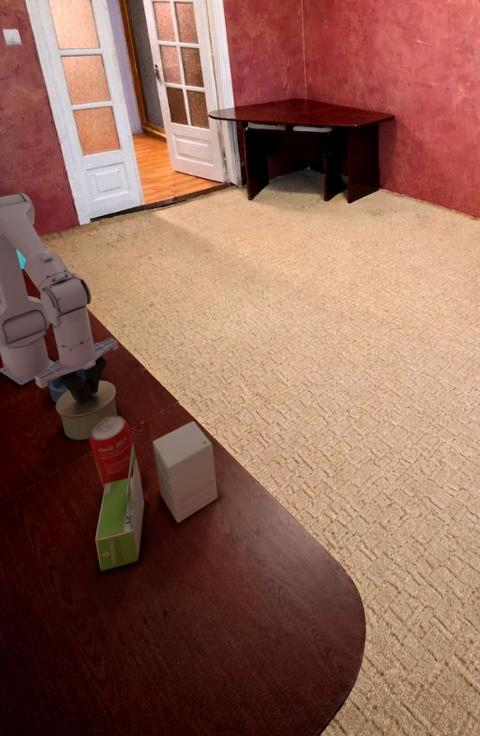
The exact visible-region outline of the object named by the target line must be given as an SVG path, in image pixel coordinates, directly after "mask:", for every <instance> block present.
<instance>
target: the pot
mask: <svg viewBox="0 0 480 736" xmlns="http://www.w3.org/2000/svg"><path fill="white" fill-rule="evenodd" d="M117 410H118V409H117V406H116V401H115V398H114V399H113V400H112V401H111V402H110V403H109V404H108V405H107V406H106V407H104V408H103V409H101V410H100V411H98V412H96V413H93V414H91V415H88V416H84V417H78V418H67V417H63V416H61V415H60V419H61V422H62V423H61V424H62V426H63V427H62V428H63V432H64V434H65V436H66V437H68V438H69V439H72V440H78V441H79V440H81V441H83V440H89V437H90V431H91V429H92V427H93V426H94V425H95V424H96V423H97V422H98V421H100V420H101V419H103V418H106V417H109V416H115V415H116V416H118V411H117Z"/></svg>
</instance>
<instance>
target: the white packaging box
mask: <svg viewBox="0 0 480 736" xmlns="http://www.w3.org/2000/svg"><path fill="white" fill-rule="evenodd" d="M152 448H153V449H152V450H153V454H154V460H155V466H156V471H157V473H156V474H157V480H158V486H159V492H160V496H161V498H162V499H163V501H164V503H165V505H166V506H167V508H168V510H169V512H170V513H171V515H172V516H173V518H174V520H175V521H176V523H177V524H179V523H181V522H182V521H184V520H185V519H187V518H188V517H190V516H191V515H193V514H194V513H196V512H198V511H199V510H201V509H202V508H204V507H205V506H207V505H209V504H210V503H212V502H213V501H215V500H217V499H218V488H217V487H218V486H217V478H216V467H215V457H214V447H213V443H212V442H211V440H209V438H208V437H207V436H206V434H205V433H204V432H203V431H202V429H201V428H200V427H199V426H198V424H197V423H196V422H195V420H192V421H191V422H188V423H186V424H184V425H182V426H180V427H178V428H176V429H174V430H172V431H171V432H168V433H166V434H165V435H162V436H161V437H159V438H155V440H153V441H152Z"/></svg>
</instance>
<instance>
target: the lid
mask: <svg viewBox="0 0 480 736" xmlns="http://www.w3.org/2000/svg"><path fill="white" fill-rule="evenodd" d="M81 390H82V394H83V401H82V402H78V401H76V400H74V398H73V396H72V394H71V393H70V391H69V390H68V391H67V392H65V393H64V394H63V395H62V396H61V397H60V398H59V399H58V401H57V403H56V402H55V403H56V404H55V410H56V412H57V414H58V415H59V416H60V417H61V416H63V417H67V418H78V417H84V416H88V415H91V414H93V413H96V412H98V411H100V410H101V409H103V408H104V407H106V406H107V405H108V404H109V403H110V402H111V401H112V400H113V399H115V397H116V392H117V390H116V387H115V385H114V384H113V383H111V382H109V381H106V380H100V381H99V387H98V392H97V393H93V391H92V386H91V381H90V380H89V379H84V380H81Z"/></svg>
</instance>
